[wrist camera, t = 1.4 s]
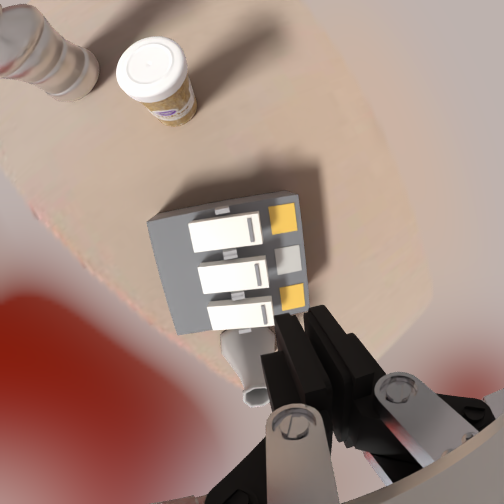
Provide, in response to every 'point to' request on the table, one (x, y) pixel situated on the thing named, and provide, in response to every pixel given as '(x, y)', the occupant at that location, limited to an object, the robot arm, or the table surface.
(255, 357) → the flask
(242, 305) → the switch
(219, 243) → the switch
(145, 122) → the table surface
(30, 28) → the plastic bottle
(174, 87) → the sprinkles bottle
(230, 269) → the switch
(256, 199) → the console
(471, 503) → the robot arm
